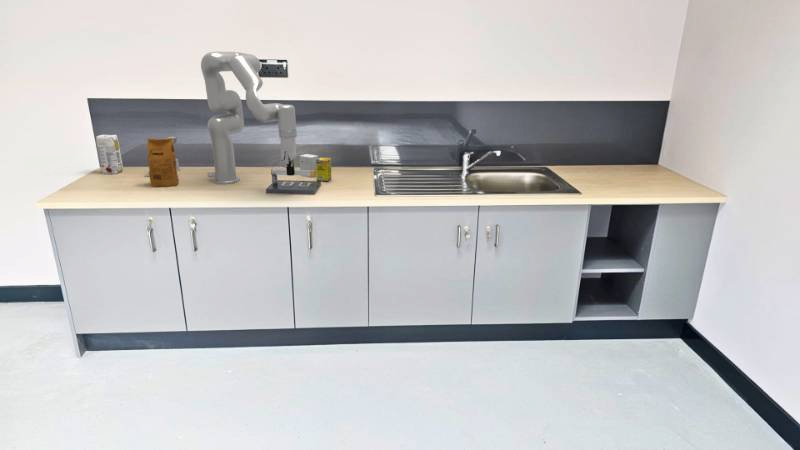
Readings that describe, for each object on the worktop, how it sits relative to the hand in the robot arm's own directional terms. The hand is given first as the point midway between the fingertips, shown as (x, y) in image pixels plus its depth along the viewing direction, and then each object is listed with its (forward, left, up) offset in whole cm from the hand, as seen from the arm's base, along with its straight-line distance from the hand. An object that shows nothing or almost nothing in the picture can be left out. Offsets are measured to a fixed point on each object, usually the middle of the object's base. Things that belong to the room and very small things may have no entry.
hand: (290, 175), depth 223 cm
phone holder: (-73, +30, -9) cm, 80 cm away
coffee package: (-63, +9, -9) cm, 64 cm away
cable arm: (-1, +7, -2) cm, 7 cm away
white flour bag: (-99, +28, -9) cm, 103 cm away
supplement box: (+11, +24, -9) cm, 28 cm away
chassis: (-1, +7, -9) cm, 11 cm away
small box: (+2, +33, -9) cm, 34 cm away
